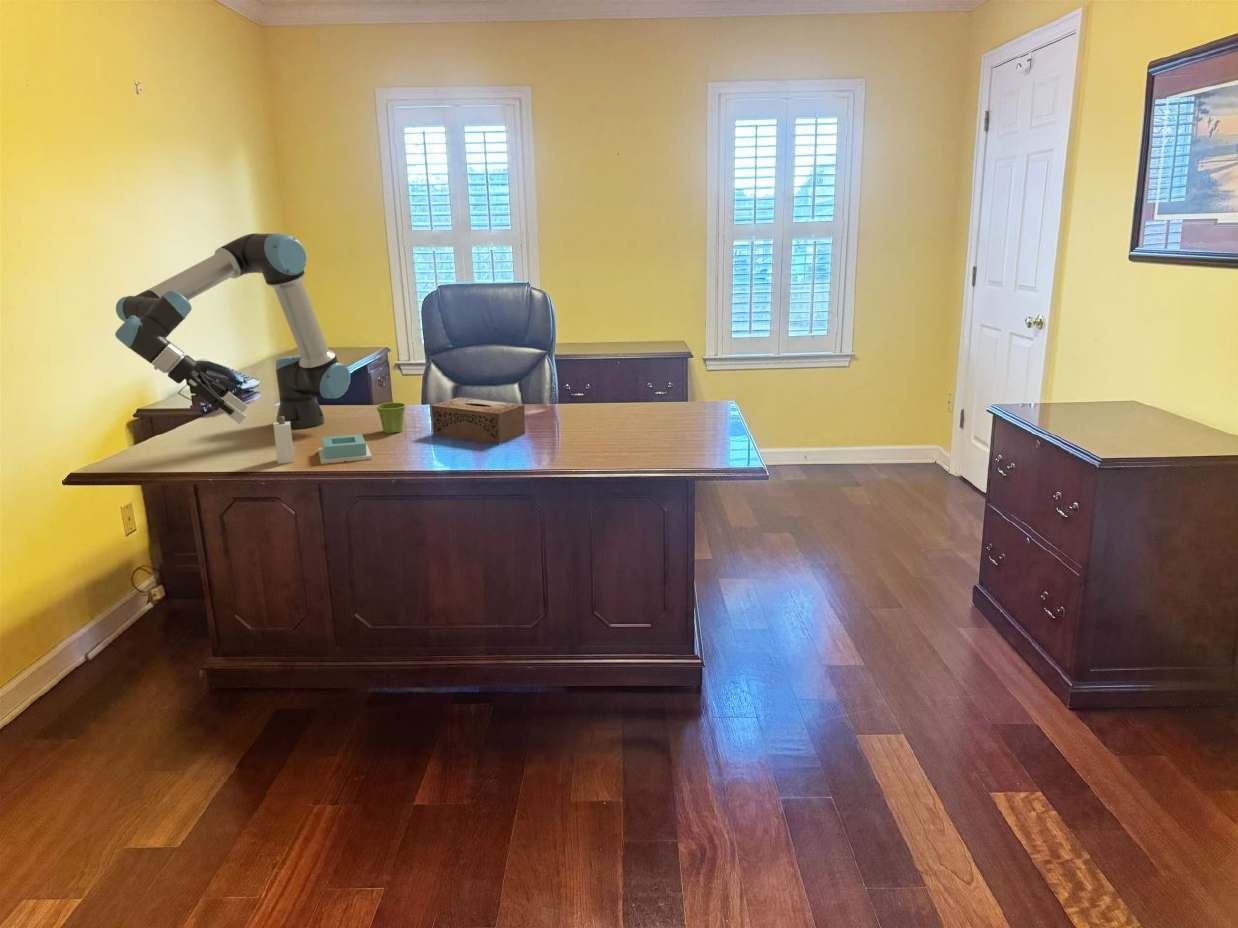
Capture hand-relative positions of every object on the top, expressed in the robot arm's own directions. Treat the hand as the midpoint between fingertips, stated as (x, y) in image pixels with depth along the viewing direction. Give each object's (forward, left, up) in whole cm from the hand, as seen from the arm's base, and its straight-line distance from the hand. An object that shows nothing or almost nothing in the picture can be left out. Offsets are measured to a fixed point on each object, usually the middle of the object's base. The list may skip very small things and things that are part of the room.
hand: (244, 415), depth 230 cm
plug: (+4, +8, -14) cm, 17 cm away
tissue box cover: (+24, +64, -15) cm, 70 cm away
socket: (+12, +22, -14) cm, 29 cm away
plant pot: (-1, +49, -15) cm, 51 cm away
